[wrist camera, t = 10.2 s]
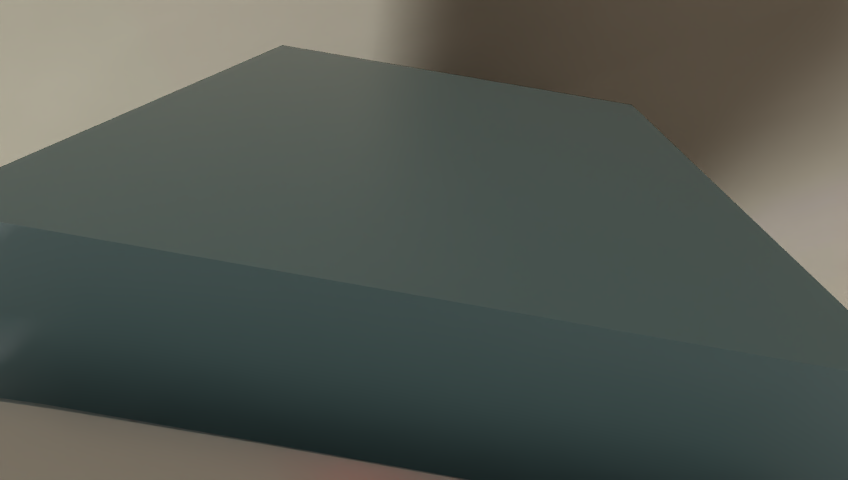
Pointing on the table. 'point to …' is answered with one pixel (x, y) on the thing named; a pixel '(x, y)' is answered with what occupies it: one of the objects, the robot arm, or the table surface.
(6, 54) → the table surface
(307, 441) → the matte blue-grey box
